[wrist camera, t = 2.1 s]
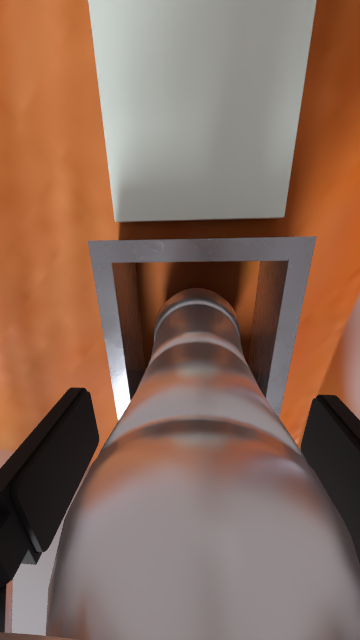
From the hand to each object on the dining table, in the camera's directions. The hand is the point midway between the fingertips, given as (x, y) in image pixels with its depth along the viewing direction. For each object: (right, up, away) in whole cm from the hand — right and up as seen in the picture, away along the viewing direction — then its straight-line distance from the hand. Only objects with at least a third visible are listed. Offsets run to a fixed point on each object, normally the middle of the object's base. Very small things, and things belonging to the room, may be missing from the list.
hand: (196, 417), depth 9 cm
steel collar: (+1, +4, +10) cm, 10 cm away
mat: (0, +17, +4) cm, 18 cm away
